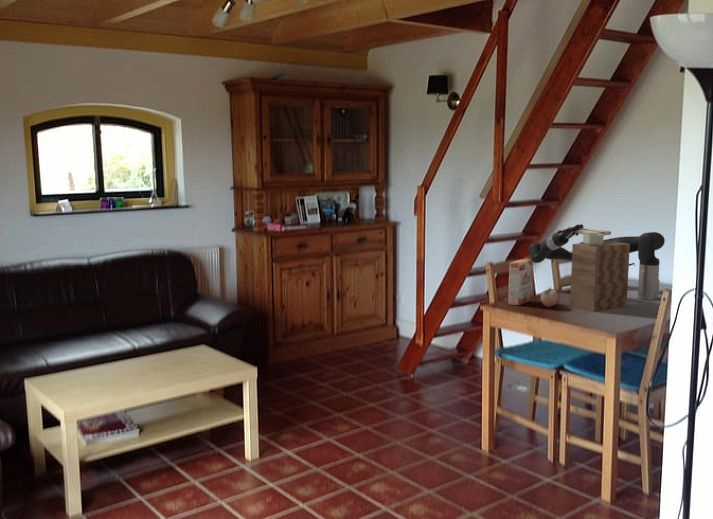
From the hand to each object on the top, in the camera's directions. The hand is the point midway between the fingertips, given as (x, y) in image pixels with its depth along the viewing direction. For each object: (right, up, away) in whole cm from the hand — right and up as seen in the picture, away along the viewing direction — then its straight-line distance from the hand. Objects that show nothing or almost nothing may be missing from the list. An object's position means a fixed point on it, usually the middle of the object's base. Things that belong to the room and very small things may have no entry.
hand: (580, 226), depth 360 cm
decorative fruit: (-19, -40, -16) cm, 47 cm away
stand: (+5, -39, -13) cm, 41 cm away
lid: (+2, -4, -2) cm, 5 cm away
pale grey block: (0, -10, -20) cm, 22 cm away
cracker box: (-31, -38, -4) cm, 49 cm away
